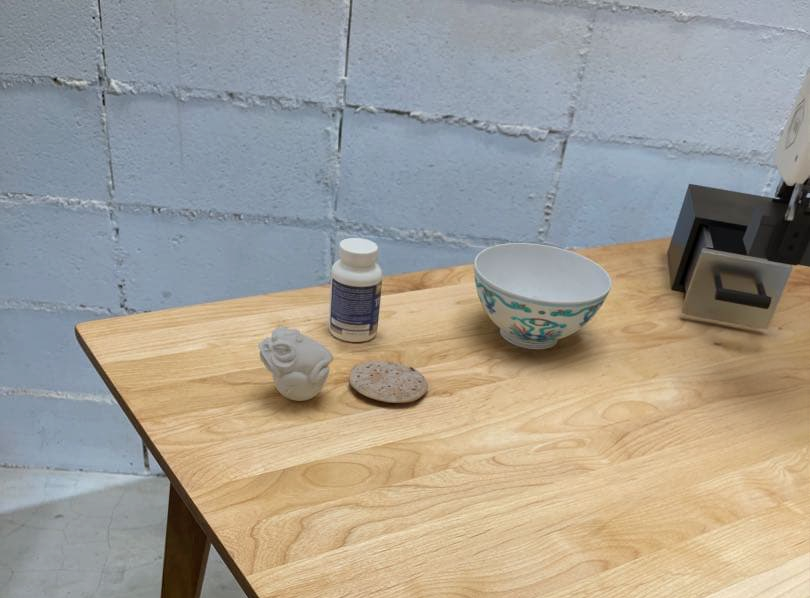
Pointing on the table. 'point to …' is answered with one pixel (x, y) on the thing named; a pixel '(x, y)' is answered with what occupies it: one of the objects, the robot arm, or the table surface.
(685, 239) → the cabinet
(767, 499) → the table surface
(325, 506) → the table surface
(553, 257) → the chinaware
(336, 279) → the pill bottle
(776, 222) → the dark grey block
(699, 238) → the drawer
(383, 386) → the flatbread
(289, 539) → the table surface
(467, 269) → the table surface
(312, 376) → the frog figurine
